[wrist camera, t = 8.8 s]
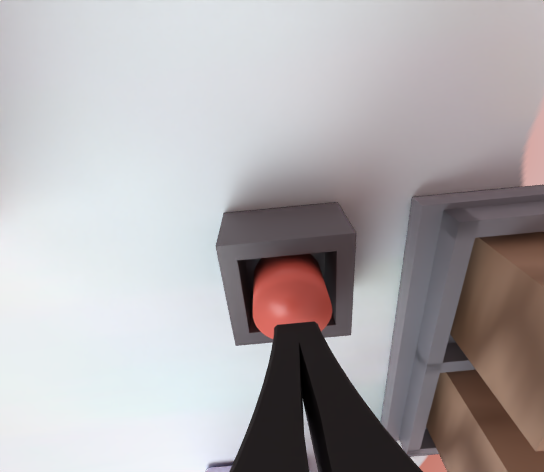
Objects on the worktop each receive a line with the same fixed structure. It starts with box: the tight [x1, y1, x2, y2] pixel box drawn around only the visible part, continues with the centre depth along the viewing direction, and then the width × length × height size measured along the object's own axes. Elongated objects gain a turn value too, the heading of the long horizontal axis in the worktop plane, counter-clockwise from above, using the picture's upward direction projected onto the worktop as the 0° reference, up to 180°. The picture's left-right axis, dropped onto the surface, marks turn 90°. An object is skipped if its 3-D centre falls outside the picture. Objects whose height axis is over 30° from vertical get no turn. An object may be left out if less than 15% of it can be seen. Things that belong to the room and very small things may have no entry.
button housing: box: [216, 202, 356, 346], centre depth 14 cm, size 5×5×3 cm
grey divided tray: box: [381, 185, 544, 457], centre depth 17 cm, size 18×9×2 cm, turn 5°
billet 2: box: [426, 370, 544, 472], centre depth 17 cm, size 6×4×6 cm, turn 5°
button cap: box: [253, 254, 332, 339], centre depth 13 cm, size 3×3×2 cm
